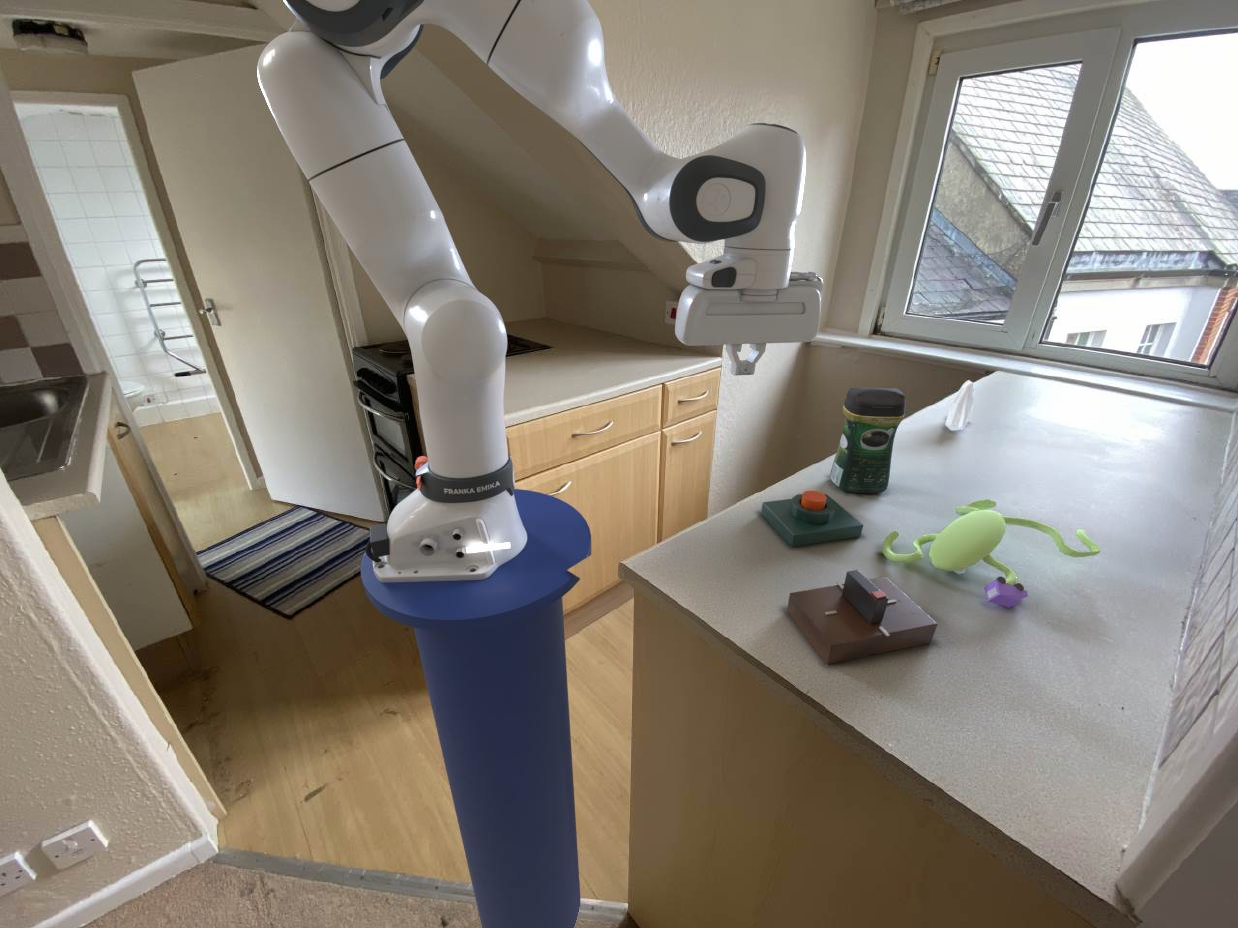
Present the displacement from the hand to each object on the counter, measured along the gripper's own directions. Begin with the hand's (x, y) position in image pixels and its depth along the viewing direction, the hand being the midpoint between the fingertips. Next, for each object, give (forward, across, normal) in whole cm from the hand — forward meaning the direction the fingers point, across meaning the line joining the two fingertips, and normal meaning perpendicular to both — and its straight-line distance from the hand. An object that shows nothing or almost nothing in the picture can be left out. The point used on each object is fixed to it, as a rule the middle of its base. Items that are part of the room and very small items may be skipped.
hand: (741, 374), depth 75 cm
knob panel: (+25, -7, +26) cm, 36 cm away
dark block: (+22, -7, +26) cm, 34 cm away
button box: (+25, -14, +4) cm, 28 cm away
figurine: (+24, -34, +18) cm, 45 cm away
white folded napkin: (+23, -70, -26) cm, 78 cm away
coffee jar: (+24, -30, -6) cm, 39 cm away
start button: (+21, -14, +4) cm, 25 cm away
